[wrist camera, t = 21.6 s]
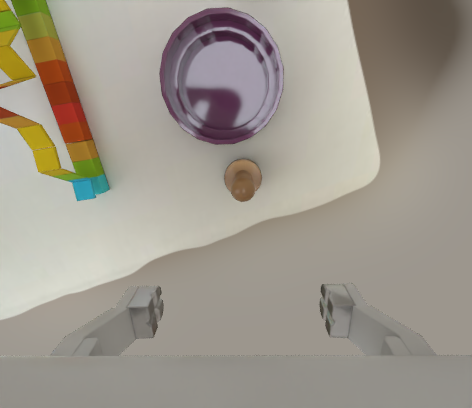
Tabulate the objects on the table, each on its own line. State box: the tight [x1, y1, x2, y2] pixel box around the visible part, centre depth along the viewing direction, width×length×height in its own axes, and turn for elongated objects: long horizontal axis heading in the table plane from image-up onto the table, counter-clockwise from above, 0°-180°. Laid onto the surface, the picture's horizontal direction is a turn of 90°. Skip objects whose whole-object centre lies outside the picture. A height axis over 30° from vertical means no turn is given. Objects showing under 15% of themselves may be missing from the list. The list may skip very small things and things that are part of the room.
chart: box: [0, 0, 110, 201], centre depth 28 cm, size 30×3×15 cm, turn 9°
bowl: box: [160, 8, 284, 144], centre depth 32 cm, size 14×14×6 cm
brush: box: [224, 159, 262, 202], centre depth 34 cm, size 5×5×9 cm
